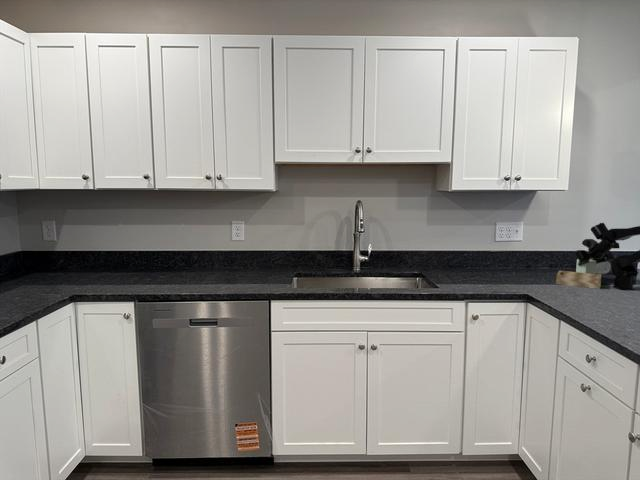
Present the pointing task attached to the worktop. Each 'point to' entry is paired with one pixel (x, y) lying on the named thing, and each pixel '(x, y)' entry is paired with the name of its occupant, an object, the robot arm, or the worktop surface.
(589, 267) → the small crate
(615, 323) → the worktop surface
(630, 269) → the robot arm
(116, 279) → the worktop surface
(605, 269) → the tin
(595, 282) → the wooden board
